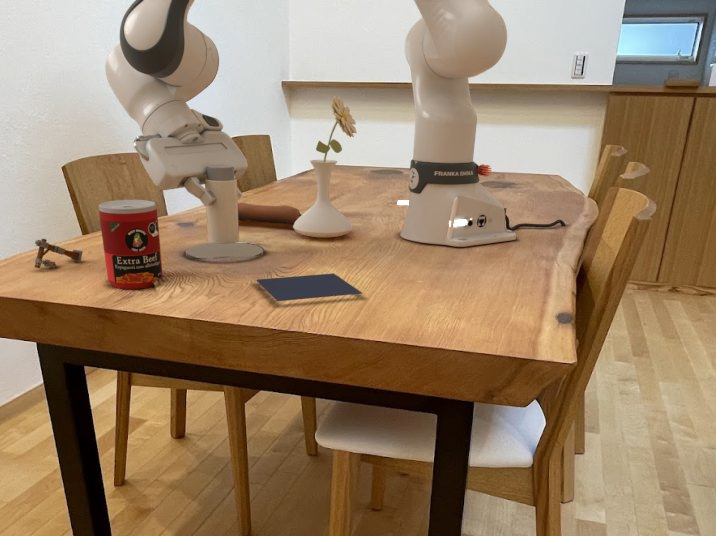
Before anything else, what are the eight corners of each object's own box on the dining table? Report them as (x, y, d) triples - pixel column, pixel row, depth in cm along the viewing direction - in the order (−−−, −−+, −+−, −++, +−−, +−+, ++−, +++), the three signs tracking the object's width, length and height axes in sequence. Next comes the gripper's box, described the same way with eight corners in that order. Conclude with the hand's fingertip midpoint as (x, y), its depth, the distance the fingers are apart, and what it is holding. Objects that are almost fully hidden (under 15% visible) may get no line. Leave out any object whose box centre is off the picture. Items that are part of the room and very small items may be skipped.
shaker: (235, 236, 114) (232, 164, 109) (242, 242, 110) (239, 167, 105) (205, 238, 113) (201, 164, 108) (211, 244, 108) (207, 168, 103)
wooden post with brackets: (26, 265, 99) (32, 235, 98) (69, 276, 106) (75, 248, 106) (34, 267, 98) (40, 237, 98) (77, 277, 105) (83, 250, 105)
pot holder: (333, 278, 99) (333, 273, 98) (362, 298, 89) (362, 293, 89) (255, 284, 95) (255, 279, 94) (277, 306, 85) (277, 300, 85)
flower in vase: (323, 244, 120) (325, 95, 110) (280, 235, 127) (278, 93, 117) (369, 235, 129) (375, 95, 119) (327, 226, 136) (329, 94, 126)
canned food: (113, 292, 90) (103, 210, 86) (103, 278, 96) (93, 201, 92) (169, 286, 93) (162, 206, 89) (156, 272, 100) (148, 198, 95)
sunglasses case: (313, 221, 139) (308, 195, 133) (304, 243, 135) (298, 218, 129) (235, 215, 143) (227, 190, 138) (223, 237, 139) (215, 212, 134)
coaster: (252, 243, 120) (252, 240, 120) (272, 259, 109) (272, 256, 109) (180, 248, 116) (179, 244, 115) (193, 265, 104) (192, 261, 104)
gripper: (136, 122, 99) (190, 195, 98) (225, 118, 115) (271, 181, 114) (119, 151, 103) (171, 222, 102) (207, 144, 119) (252, 205, 118)
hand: (224, 200), depth 108 cm, fingers closed on shaker, 5 cm apart
